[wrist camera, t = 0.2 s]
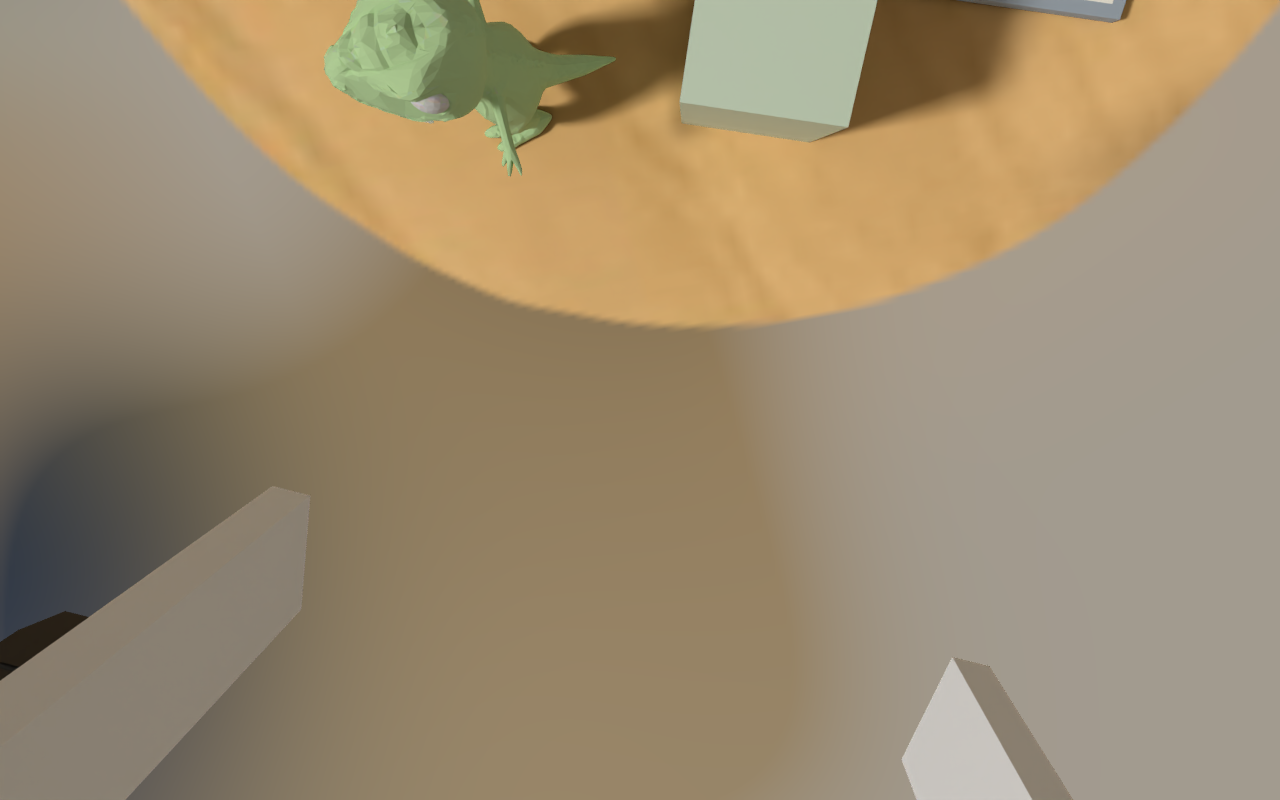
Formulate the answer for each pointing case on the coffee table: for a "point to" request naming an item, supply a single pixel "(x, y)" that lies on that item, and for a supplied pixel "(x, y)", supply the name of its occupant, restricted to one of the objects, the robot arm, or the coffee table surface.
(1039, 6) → the grey square plate
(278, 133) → the coffee table surface
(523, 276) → the coffee table surface
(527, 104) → the toy
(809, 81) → the sage block
